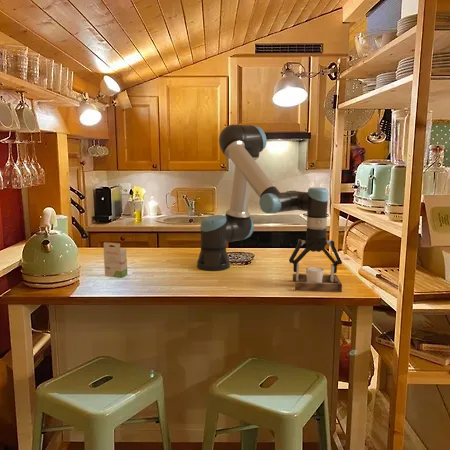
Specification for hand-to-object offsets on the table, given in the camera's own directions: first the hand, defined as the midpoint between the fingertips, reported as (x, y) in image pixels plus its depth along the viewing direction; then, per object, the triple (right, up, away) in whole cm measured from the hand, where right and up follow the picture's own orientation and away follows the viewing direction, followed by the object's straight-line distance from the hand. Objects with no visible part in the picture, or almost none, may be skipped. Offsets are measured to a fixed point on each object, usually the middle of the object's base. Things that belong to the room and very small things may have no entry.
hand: (314, 280), depth 168 cm
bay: (0, -2, 0) cm, 2 cm away
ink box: (-82, 0, +14) cm, 83 cm away
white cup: (0, -2, 0) cm, 3 cm away
